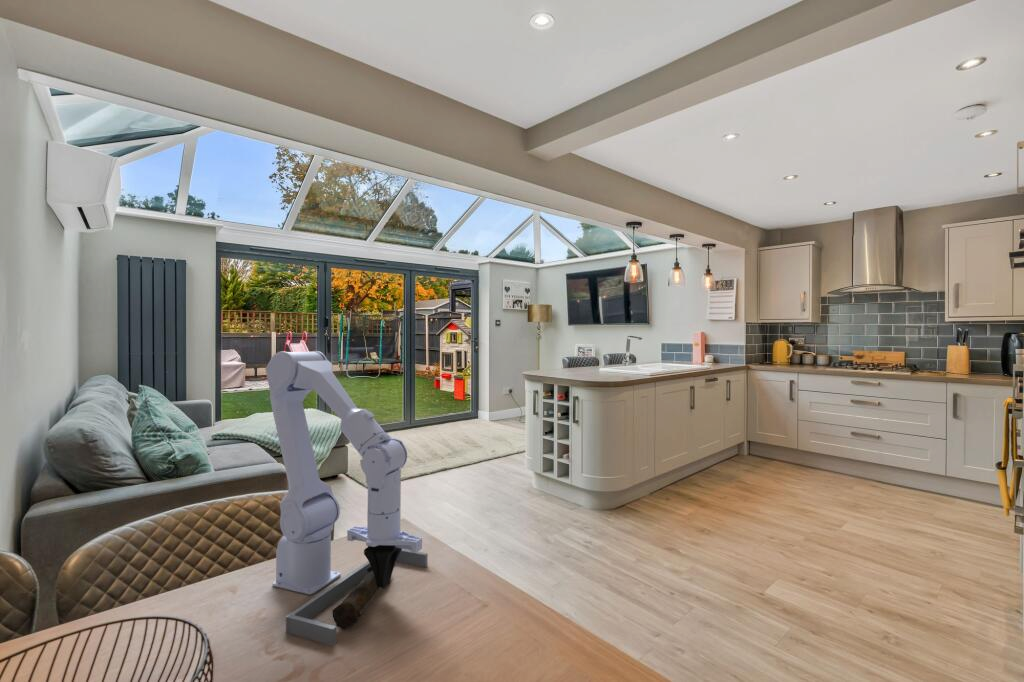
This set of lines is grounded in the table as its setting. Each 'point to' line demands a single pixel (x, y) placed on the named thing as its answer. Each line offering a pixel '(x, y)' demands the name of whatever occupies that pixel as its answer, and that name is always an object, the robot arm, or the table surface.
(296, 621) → the u-shaped bracket
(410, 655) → the table surface
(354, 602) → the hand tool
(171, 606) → the table surface
